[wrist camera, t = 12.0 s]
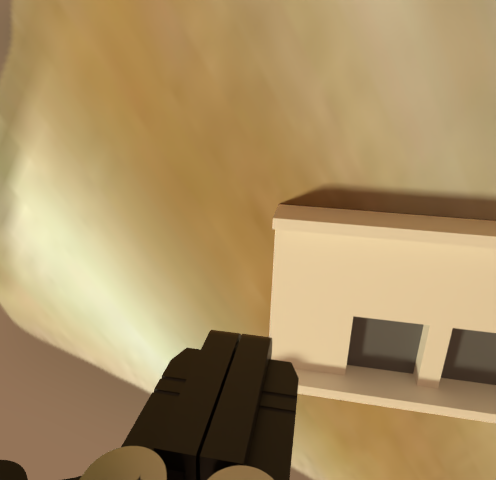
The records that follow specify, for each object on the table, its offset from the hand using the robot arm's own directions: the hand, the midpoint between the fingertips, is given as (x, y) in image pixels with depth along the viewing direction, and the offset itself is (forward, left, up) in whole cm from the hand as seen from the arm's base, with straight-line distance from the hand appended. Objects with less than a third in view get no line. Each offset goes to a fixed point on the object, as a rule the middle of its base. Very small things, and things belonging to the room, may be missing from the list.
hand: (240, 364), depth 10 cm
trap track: (+13, +14, -29) cm, 35 cm away
